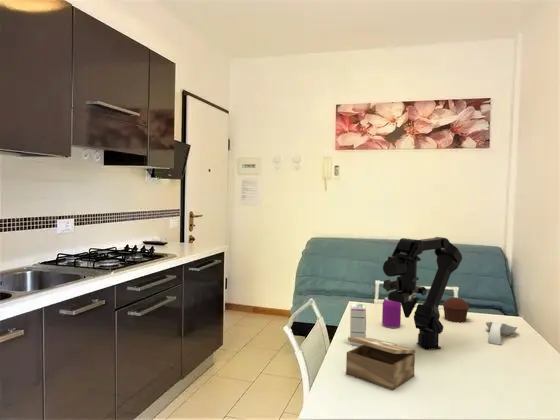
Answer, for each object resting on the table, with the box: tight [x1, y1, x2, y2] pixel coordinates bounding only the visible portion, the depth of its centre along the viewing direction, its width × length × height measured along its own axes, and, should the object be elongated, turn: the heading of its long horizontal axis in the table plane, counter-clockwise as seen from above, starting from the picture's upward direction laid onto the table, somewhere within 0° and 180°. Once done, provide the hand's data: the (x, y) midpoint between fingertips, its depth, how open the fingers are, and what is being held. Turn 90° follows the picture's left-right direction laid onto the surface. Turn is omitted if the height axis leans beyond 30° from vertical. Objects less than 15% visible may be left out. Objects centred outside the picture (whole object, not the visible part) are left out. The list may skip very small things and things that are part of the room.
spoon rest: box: [485, 320, 518, 346], centre depth 175 cm, size 24×12×7 cm, turn 146°
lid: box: [347, 336, 416, 354], centre depth 135 cm, size 14×16×1 cm
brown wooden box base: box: [345, 345, 416, 391], centre depth 135 cm, size 14×16×7 cm
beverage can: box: [381, 296, 402, 329], centre depth 186 cm, size 8×8×12 cm
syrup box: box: [349, 303, 367, 347], centre depth 164 cm, size 6×6×14 cm
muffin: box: [442, 297, 470, 324], centre depth 198 cm, size 12×11×10 cm
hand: (407, 317), depth 154 cm, fingers closed
